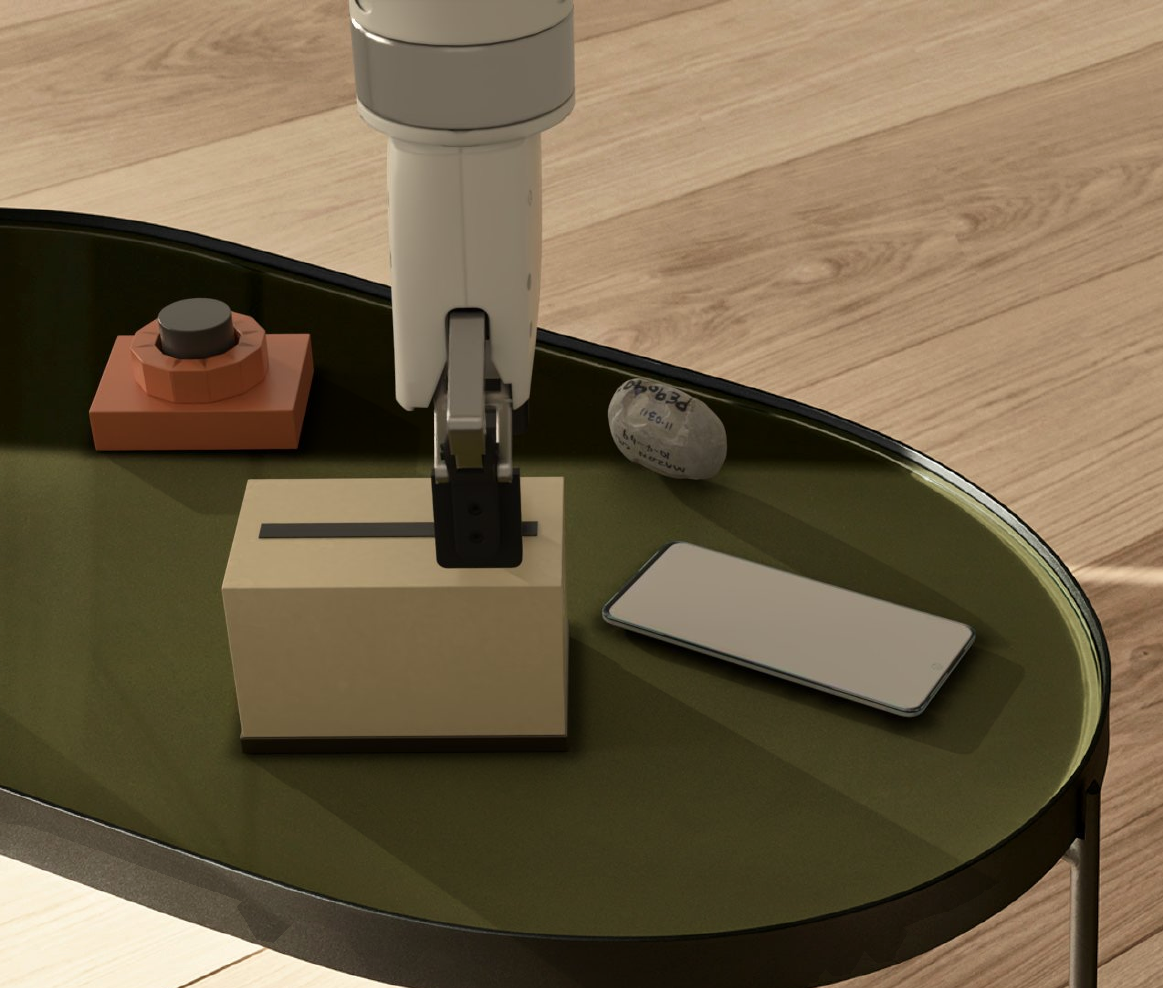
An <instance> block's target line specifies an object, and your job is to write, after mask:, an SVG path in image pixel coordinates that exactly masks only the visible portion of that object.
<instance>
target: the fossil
mask: <svg viewBox="0 0 1163 988" xmlns="http://www.w3.org/2000/svg"><path fill="white" fill-rule="evenodd" d="M607 418H608V425H609V429H610V433H611V437H612V438H613V441H614V443H615V445H616V447H617V448H618V450H619V451H620V452H621V453H622V455H623V456H624V457H625V458H627V459H628V460H629V462H632V463H635V464H638V465H640V466H643V467H644V468H646V469H648V470H650V471H652V472H654V473H655V474H659V475H661V476H664V477H668V478H672V479H678V480H680V479H681V480H682V479H683V480H684V479H688V480H697V481H698V480H707V479H708V480H709V479H711V478H714V477H715V476H717V474H718V473H719V472H720V470H721V468H722V466H723V464H724V462H725V460H726V459H727V452H728V445H727V444H728V443H727V442H728V441H727V433H726V429H725V425H724V424H723V422H722V421H721V419H720V418H719V417H718V415H717V414H716V413H715V412H714V411H713V410H712V409H711V408H709V406H708V405H707V404H706V403H705V402H704V401H702V400H700V399H699V398H697V397H692V396H691V395H690V394H688V393H686V392H684V391H682V390H680V389H678V388H675V387H672V386H669V385H666V384H662V383H661V382H654V381H651V380H648V379H645V378H642V377H641V378H640V377H639V378H632V379H628V380H627V381H625V382H623V383H622V384H621V385H620V386H619V387H618V388H617V389H616V391H615V393H614V394H613V396H612V398H611V400H610V403H609V405H608V409H607Z"/></svg>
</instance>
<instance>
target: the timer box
mask: <svg viewBox="0 0 1163 988" xmlns="http://www.w3.org/2000/svg"><path fill="white" fill-rule="evenodd" d="M231 314H232V321H233V329H234V337H235V346H234V347H233V348H232V349H230V350H229V351H227V352H226V353H225V354H222V355H218V356H214V357H210V358H206V359H177V358H173V357H170V356H167V355H165V354H164V352H163V350H162V343H161V337H160V330H159V324H158V317H157V318H156V319H154V320H153V321H150V322H149V323H148V324H145V326H143V327H142V328H140V329H138V330H137V331H136V332H135V334H134V335H117V337H116V339H115V341H114V345H113V346H112V350H111V353H110V355H109V358H108V361H107V363H106V366H105V368H104V371H103V374H102V377H101V379H100V382H99V384H98V387H97V390H96V393H95V396H94V398H93V401H92V404H91V405H90V409H89V412H88V415H89V420H90V426H91V430H92V437H93V442H94V447H95V451H97V452H98V451H99V452H102V451H103V452H104V451H105V452H109V451H110V452H111V451H116V452H117V451H122V452H123V451H220V450H221V451H225V450H226V451H227V450H229V451H230V450H231V451H235V450H237V451H238V450H297V449H298V446H299V443H300V437H301V433H302V429H303V423H304V418H305V415H306V410H307V405H308V401H309V396H310V391H311V386H312V383H313V376H314V372H315V368H314V357H313V349H312V347H313V346H312V340H311V339H312V338H311V334H310V333H271V334H270V333H269V334H268V333H267V334H266V330H265V329H264V328H263V326H261V325H260V324H259V323H258V322H257V321H256V320H255V318H253V317H252V316H251V315H245V314H242V313H238V312H235V311H232V310H231Z"/></svg>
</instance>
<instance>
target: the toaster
mask: <svg viewBox="0 0 1163 988" xmlns="http://www.w3.org/2000/svg"><path fill="white" fill-rule="evenodd" d="M520 485H521V512H522V540H523V559H522V563H521V564H520V565H519V566H518V567H516V568H454V569H447V568H443V567H441V566H440V565H438V563H437V560H436V547H435V532H434V517H433V502H432V487H431V477H388V478H387V477H386V478H385V477H384V478H383V477H380V478H379V477H377V478H376V477H375V478H374V477H373V478H369V477H368V478H363V477H362V478H266V479H265V478H263V479H261V478H260V479H257V478H256V479H255V478H254V479H252V478H250V479H247V482H246V487H245V490H244V494H243V499H242V503H241V507H240V511H239V515H238V519H237V524H236V527H235V532H234V536H233V540H232V543H231V548H230V552H229V555H228V556H229V557H228V560H227V565H226V569H225V572H224V577H223V581H222V585H221V596H222V602H223V609H224V615H225V622H226V630H227V637H228V644H229V649H230V650H229V651H230V657H231V664H232V670H233V678H234V685H235V690H236V692H235V693H236V698H237V699H236V700H237V705H238V712H239V719H240V725H241V726H240V727H241V733H240V738H239V739H240V746H241V747H240V748H241V753H242V754H332V753H335V754H336V753H337V754H338V753H340V754H345V753H350V754H351V753H354V754H355V753H362V754H363V753H470V752H471V753H478V752H479V753H484V752H488V753H489V752H491V753H493V752H495V753H496V752H497V753H498V752H502V753H503V752H505V753H506V752H568V750H569V704H570V703H569V702H570V701H569V699H570V643H571V642H570V640H571V639H570V638H571V637H570V635H571V631H570V627H571V625H570V620H569V619H568V604H567V603H568V601H567V598H568V597H567V555H566V554H567V553H566V549H567V548H566V505H565V477H564V476H520Z"/></svg>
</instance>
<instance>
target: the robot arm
mask: <svg viewBox="0 0 1163 988" xmlns="http://www.w3.org/2000/svg"><path fill="white" fill-rule="evenodd" d="M348 6H349V7H348V8H349V26H350V38H351V50H352V63H353V75H354V76H353V77H354V87H355V94H356V96H355V97H356V108H357V114H358V115H359V116H358V117H359V118H361V120H362V121H363V122H364V123H365V124H366V125H367V126H368V127H370V128H372V129H373V130H375V131H377V132H378V133H381V134H383V135H386V136H387V141H386V143H387V144H386V195H387V198H386V199H387V200H386V201H387V229H388V249H389V251H388V252H389V270H390V273H389V274H390V289H391V307H392V326H393V348H394V372H395V374H394V376H395V400H396V401H397V403H398V404H399V405H400V406H401V408H403V409H404V410H406V411H407V412H414V410H415V408H423V409H424V408H426V409H427V408H429V406H430V403H431V401H432V402H433V407H434V409H433V413H434V414H433V415H434V417H433V419H434V422H433V423H434V431H433V432H434V468H431V471H430V478H431V487H432V502H433V517H434V532H435V547H436V560H437V563H438V565H440V566H441V567H443V568H447V569H454V568H516V567H518V566H519V565H520V564H521V563H522V559H523V540H522V512H521V485H520V477H521V467H513V436H522V435H525V434H526V433H527V432H528V431H529V429H530V402H529V401H530V400H529V399H530V394H531V386H532V385H531V384H532V376H533V368H534V360H535V359H534V358H535V352H536V351H535V350H536V344H537V343H536V341H537V331H538V321H539V310H540V299H541V297H540V296H541V284H542V283H541V282H542V260H543V259H542V257H543V256H542V255H543V166H542V165H543V164H542V162H543V160H542V133H544V132H545V131H548V130H550V129H553V128H554V127H556V126H558V125H559V124H561V123H563V122H564V121H565V119H566V118H567V117H569V116H570V115H571V114H572V113H573V111H574V110H575V106H576V57H575V56H576V55H575V54H576V52H575V48H576V47H575V5H574V0H348ZM485 413H496V418H497V443H495V438H494V437H493V434H486V419H485Z"/></svg>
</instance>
